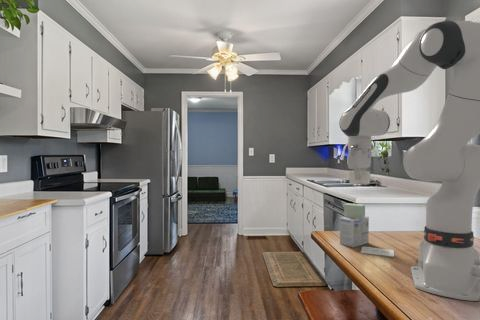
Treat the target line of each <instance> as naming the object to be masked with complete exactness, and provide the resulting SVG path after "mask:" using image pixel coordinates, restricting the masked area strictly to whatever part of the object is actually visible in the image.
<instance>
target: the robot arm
mask: <svg viewBox="0 0 480 320" xmlns="http://www.w3.org/2000/svg"><path fill="white" fill-rule="evenodd" d="M437 67H439V68H440V69H442V70H447V69H451V70H452V73H453V79H452V82H451V85H450V89H449V90H448V95H447V98H446V99H445V103H444V105H443V107H442V111H441V114H440V116H439V118H438V120H437V122H436V124H435V125H434V126H433V128H432V129H431V130H430V131H429V132H428V133H427V135H426V136H425V137H424V138H423V139H422V140H420V141H419V142H417V143H416V144H415V145H412V146H410V147H409V148H408V149H407V151H406V152H405V154H404V156H403V161H402V162H403V163H402V164H403V169H404V171H405V173H406V174H407V176H408V177H410V178H411V179H414V180H419V181H422V182H423V181H424V182H430V183H431V182H432V183H433V182H441V185H440V188H439V189H438V191H437V192H436V193H435V194H433V195H431V196H430V197H429V198H428V199H427V202H426V205H425V206H426V209H425V210H426V213H425V216H426V217H425V218H426V219H425V226H424V230H423V234H424V235H423V239H424V241H422V242H420V243H419V244H418V259H416V264H417V265H418V266H417V265H413V266H411V267H410V272H411V275H412V276H411V277H412V281H413V285H414V287H415V288H416V289H419V290H420V291H424V292H426V293H430V294H433V295H438V296H440V297H447V298H451V299H456V300H462V301H471V302H475V301H476V302H478V301H480V252H479V251H478V250H477V249H475V247H474V240H475V236H474V231H473V229H472V228H473V227H472V226H473V225H472V224H473V211H474V210H473V209H474V208H473V207H474V202H475V199H476V196H477V194H478V192H479V190H480V145H479V144H474V143H469V142H470V141H471V140H473V139H474V138H475V137H477V136H479V135H480V22H475V21H471V20H454V21H453V20H443V21H439V22H435V23H433V24H431V25H429V26H427V28H425V29H422V30H420V31H418V32H417V34H415V35H414V36H413V38H412V39H411V40H410V41H409V42H408V43H407V45H406V46H405V47H404V48H403V50H402V51H401V53H400V54H399V55H398V57H397V58H396V59H395V61H393V63H392V64H391V65H390V67H388V68H387V69H386V70H385V71H383V72H381V74H379V75H377V76H376V77H374V79H372V81H371V82H370V83H369V84H368V85H367V87H366V88H365V89H364V90H363V91H362V93H360V95H359V96H358V97H357V98H356V100H355V101H354V102H353V103H352V105H351V106H350V107H348V108H347V109H346V110H345V111H344V112H343V113H342V115H341V116H340V119H339V128H340V130H341V132H342V133H343V134H344V135H346V136H347V140H348V141H347V145H348V146H347V150H348V154H347V167H348V169H350V170H352V169H353V171H354V174H355V180H360V171H366V169H367V168H370V167H371V164H372V150H373V149H374V145H373V143H372V136H376V137H377V136H383V135H385V134H386V133H387V132H388V131H389V129H390V126H391V120H390V118H391V117H390V116H389V114H388V113H387V112H386V111H385V110H384V111H383V110H381V109H380V110H379V109H376V108H373V107H374V106H375V105H376V104H378V102H379V101H381V100H384V99H385V98H387V97H390V96H395V95H399V94H403V93H404V94H405V93H408V92H409V93H410V92H413V91H415V90H417V89H419V88H420V87H421V86H422V85H423V84H424V83H425V82H426V81H427V80H428V79H429V77H430V76H431V75H432V73H433V72H434V71H435V69H436V68H437Z"/></svg>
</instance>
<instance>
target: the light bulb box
mask: <svg viewBox="0 0 480 320" xmlns="http://www.w3.org/2000/svg"><path fill="white" fill-rule="evenodd" d="M369 221H370V220H369V216H366V215H365V218H363V219H358V218H350V217H344V216H343V217H339V244H340V245H343V246H346V247H349V248H352V249H353V248H356V247H359V246H363V245H365V244H369V237H370V235H369V229H370V228H369V227H370V226H369V224H370V223H369Z"/></svg>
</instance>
